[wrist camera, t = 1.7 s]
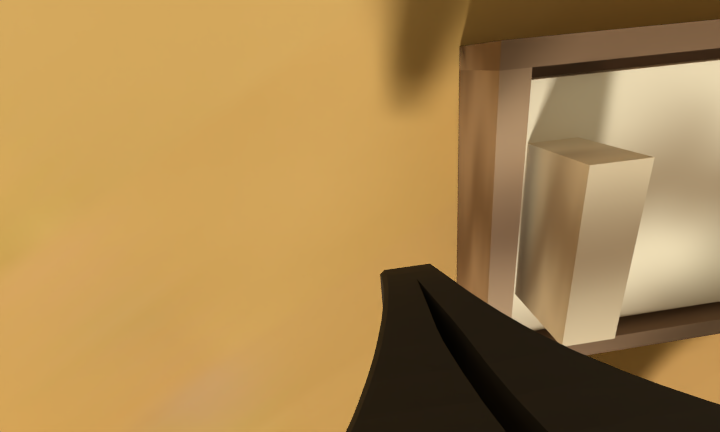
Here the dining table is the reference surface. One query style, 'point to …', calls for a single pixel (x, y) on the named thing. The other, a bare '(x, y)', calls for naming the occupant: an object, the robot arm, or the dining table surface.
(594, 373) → the robot arm
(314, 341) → the dining table surface
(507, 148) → the brown shallow rimmed piece
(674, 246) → the cover plate
